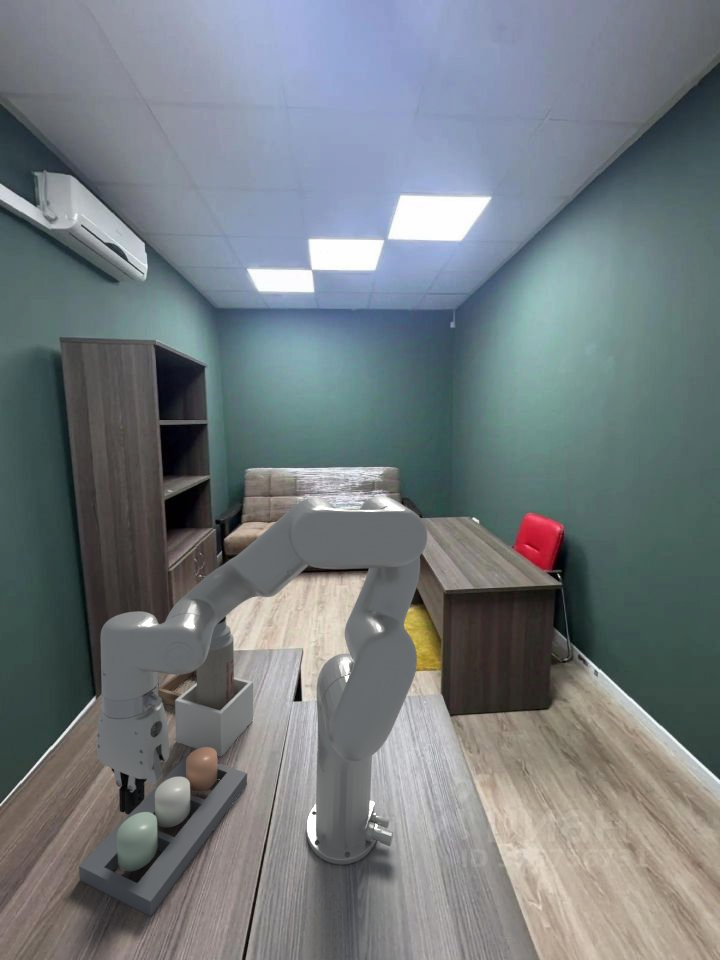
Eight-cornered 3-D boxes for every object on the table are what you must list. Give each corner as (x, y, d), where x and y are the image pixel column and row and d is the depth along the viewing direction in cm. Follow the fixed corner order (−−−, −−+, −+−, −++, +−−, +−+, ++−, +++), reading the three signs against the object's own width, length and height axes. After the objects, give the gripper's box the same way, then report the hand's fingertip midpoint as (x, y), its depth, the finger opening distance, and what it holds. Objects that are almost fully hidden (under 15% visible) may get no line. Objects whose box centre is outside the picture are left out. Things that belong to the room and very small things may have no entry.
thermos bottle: (240, 721, 100) (239, 610, 97) (222, 746, 93) (221, 626, 89) (209, 716, 102) (208, 606, 98) (190, 740, 94) (188, 621, 90)
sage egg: (165, 842, 68) (164, 818, 68) (137, 877, 63) (136, 851, 62) (138, 831, 70) (137, 807, 70) (109, 863, 65) (108, 838, 64)
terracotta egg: (223, 772, 82) (223, 751, 82) (204, 795, 77) (204, 773, 77) (200, 763, 84) (199, 743, 84) (179, 786, 79) (179, 765, 78)
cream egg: (197, 804, 75) (196, 782, 75) (174, 832, 70) (173, 808, 70) (172, 794, 77) (171, 772, 77) (147, 821, 72) (147, 798, 71)
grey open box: (252, 720, 101) (253, 681, 100) (221, 756, 90) (221, 713, 88) (211, 708, 105) (210, 670, 103) (176, 741, 93) (175, 700, 92)
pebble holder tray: (246, 784, 83) (246, 773, 83) (151, 916, 60) (150, 901, 60) (189, 764, 87) (188, 753, 87) (79, 880, 65) (78, 865, 65)
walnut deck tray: (232, 682, 115) (232, 672, 115) (199, 713, 103) (199, 702, 102) (193, 672, 119) (192, 662, 119) (156, 700, 107) (156, 689, 106)
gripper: (189, 694, 64) (188, 801, 67) (115, 671, 69) (116, 772, 71) (150, 726, 57) (151, 845, 59) (70, 698, 62) (74, 809, 64)
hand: (132, 805), depth 65 cm, fingers closed
